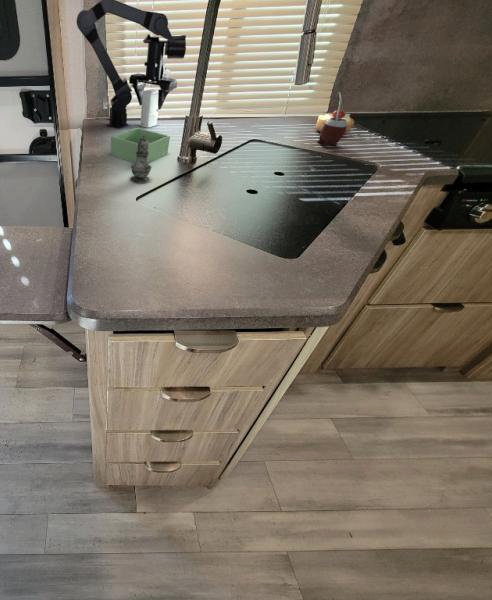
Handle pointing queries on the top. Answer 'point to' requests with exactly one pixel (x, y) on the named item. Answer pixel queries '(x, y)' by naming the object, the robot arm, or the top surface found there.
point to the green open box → (128, 144)
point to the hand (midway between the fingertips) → (149, 107)
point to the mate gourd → (333, 129)
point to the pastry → (325, 117)
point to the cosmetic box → (149, 108)
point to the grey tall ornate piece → (141, 163)
